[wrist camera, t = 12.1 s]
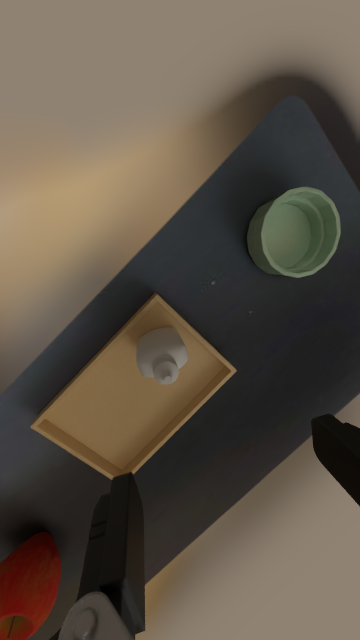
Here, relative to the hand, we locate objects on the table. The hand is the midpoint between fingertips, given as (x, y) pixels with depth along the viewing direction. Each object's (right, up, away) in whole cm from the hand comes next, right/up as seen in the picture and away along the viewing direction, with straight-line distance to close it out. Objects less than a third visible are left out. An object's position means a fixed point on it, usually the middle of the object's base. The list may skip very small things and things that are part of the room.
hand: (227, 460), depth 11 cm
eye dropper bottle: (-5, +3, +23) cm, 24 cm away
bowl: (+12, +17, +24) cm, 32 cm away
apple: (-23, -27, +28) cm, 46 cm away
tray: (-8, -4, +25) cm, 27 cm away
